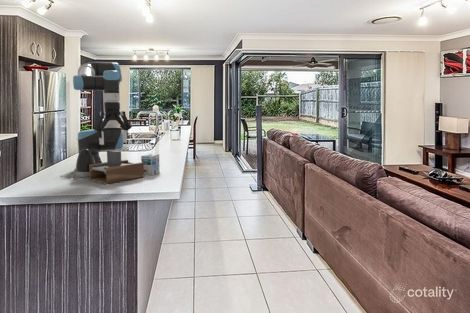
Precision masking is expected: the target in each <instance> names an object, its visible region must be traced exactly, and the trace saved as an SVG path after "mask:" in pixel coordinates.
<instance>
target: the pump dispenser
mask: <svg viewBox="0 0 470 313" xmlns="http://www.w3.org/2000/svg"><path fill="white" fill-rule="evenodd" d="M91 152H92V149H91V150H88V149H83V150H81V151H80V153H78V155H77V158H76V163H75V172H76V174H77V175H78V176H79V177H80V178H82V179H83V178H84V179H85V178H90V173H89V164H95V161H94V158H93V155H92V153H91Z"/></svg>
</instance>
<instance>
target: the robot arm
mask: <svg viewBox="0 0 470 313" xmlns="http://www.w3.org/2000/svg"><path fill="white" fill-rule="evenodd" d="M122 81H123V78H122V69H121V66H120V64H119V62H113V61H88V62H85V63H83V64H82V65H80V66H79V67H78V69H77V75H76V74H75V75H73V77H72V83H73V84H72V85H73V89H74V90H76V91H101V92H102V100H103V101H102V102H103V104H102V105H103V106H102V107H103V111H99V112H98V117H97V120H96V122H95V125H94V127H93V129H86V130H81V131H78V133H77V139H76V140H77V147H78V148H77V149H78V150H77V151H78V152H77V153H78V154H79V153H80V151H81V150H83V149H88V150H91V149H92V152H91V153H92V155H93V158H94V161H95V164H96V163H103V162H102V161H103V160H102V159H101V156H100V151H109V150H114V151H120V150H122V149H123V147H124V143H127V144H128V136H129V132H128V131H130V129H132V127H131V125H130V122H129V120H128V118H127V116H126V111H124V110H123V111H120V110H121V103H120V101H121V100H120V97H121V96H120V85H121V82H122Z"/></svg>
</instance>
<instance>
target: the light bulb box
mask: <svg viewBox="0 0 470 313" xmlns="http://www.w3.org/2000/svg"><path fill="white" fill-rule="evenodd" d="M140 160H141V162H142V163H144V176H154V175H157V174H158V173H160V153H147V154H143V155H141V156H140Z"/></svg>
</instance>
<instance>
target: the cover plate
mask: <svg viewBox="0 0 470 313" xmlns="http://www.w3.org/2000/svg"><path fill="white" fill-rule="evenodd" d="M106 160H107V161H106V162H107V165H103V166H96V167H92V169H94V170H99V171H103V172H106V170H105V169H104V167H110V166H117V165H124V163H121V160H122V151H120V150H106Z"/></svg>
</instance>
